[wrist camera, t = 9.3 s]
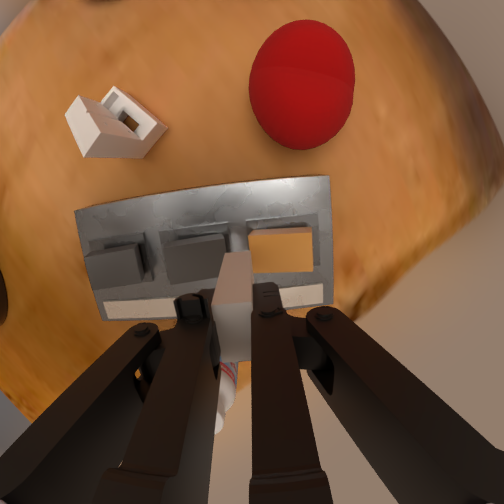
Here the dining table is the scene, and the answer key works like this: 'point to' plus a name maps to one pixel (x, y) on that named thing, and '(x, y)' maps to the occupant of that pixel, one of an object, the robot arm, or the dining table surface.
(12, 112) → the dining table surface
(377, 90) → the dining table surface
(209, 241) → the dark grey block
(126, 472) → the robot arm
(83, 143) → the white angled block
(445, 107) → the dining table surface
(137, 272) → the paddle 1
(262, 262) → the orange rectangular block
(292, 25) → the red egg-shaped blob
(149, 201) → the breaker strip
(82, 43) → the dining table surface
